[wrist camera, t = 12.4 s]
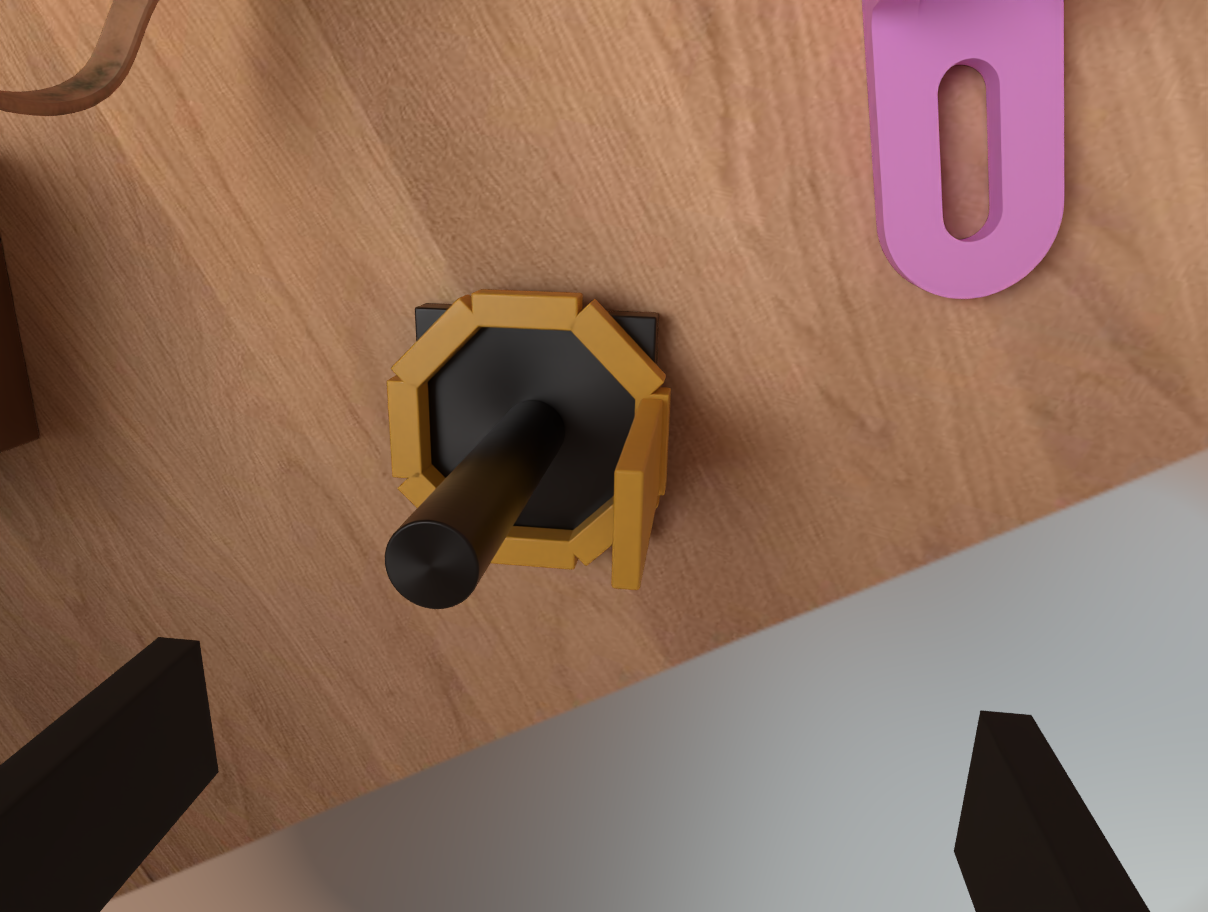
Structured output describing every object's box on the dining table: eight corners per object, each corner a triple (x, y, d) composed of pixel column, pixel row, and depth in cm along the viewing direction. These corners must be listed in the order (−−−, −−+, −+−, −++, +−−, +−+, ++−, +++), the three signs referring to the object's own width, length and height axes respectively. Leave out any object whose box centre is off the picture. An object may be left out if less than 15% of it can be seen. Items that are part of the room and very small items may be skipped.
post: (434, 520, 35) (275, 706, 22) (424, 303, 32) (236, 376, 19) (649, 535, 34) (609, 740, 21) (658, 312, 31) (618, 396, 18)
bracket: (854, -110, 26) (900, -211, 19) (1045, -152, 25) (1160, -274, 18) (881, 304, 30) (927, 337, 23) (1048, 281, 29) (1146, 308, 22)
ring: (407, 544, 34) (299, 667, 25) (392, 285, 31) (263, 324, 22) (662, 563, 33) (642, 700, 24) (675, 296, 29) (657, 341, 21)
